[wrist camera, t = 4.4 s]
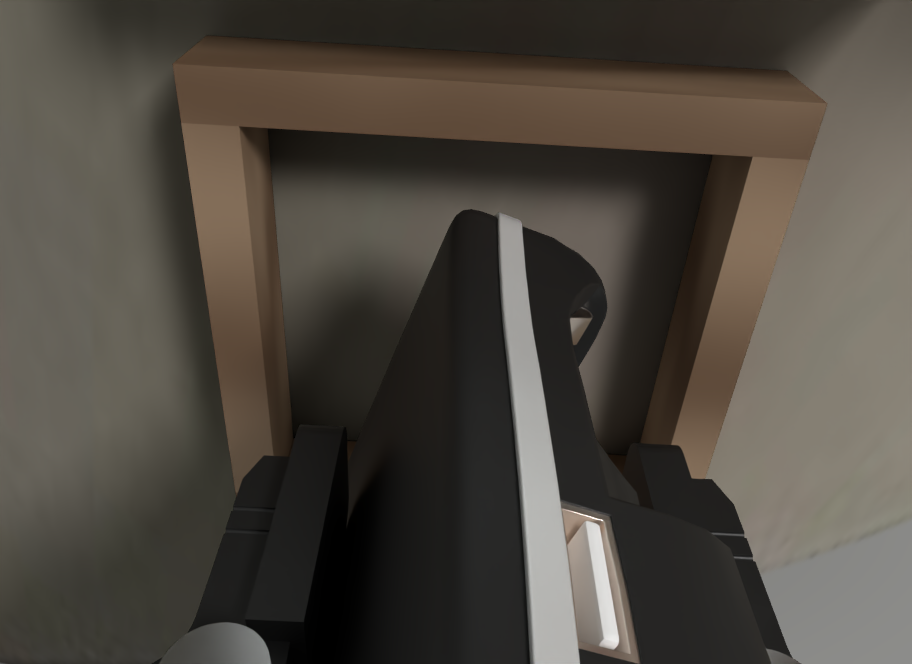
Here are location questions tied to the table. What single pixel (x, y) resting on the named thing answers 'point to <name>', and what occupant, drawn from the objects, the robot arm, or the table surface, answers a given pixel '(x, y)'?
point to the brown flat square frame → (501, 120)
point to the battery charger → (515, 489)
